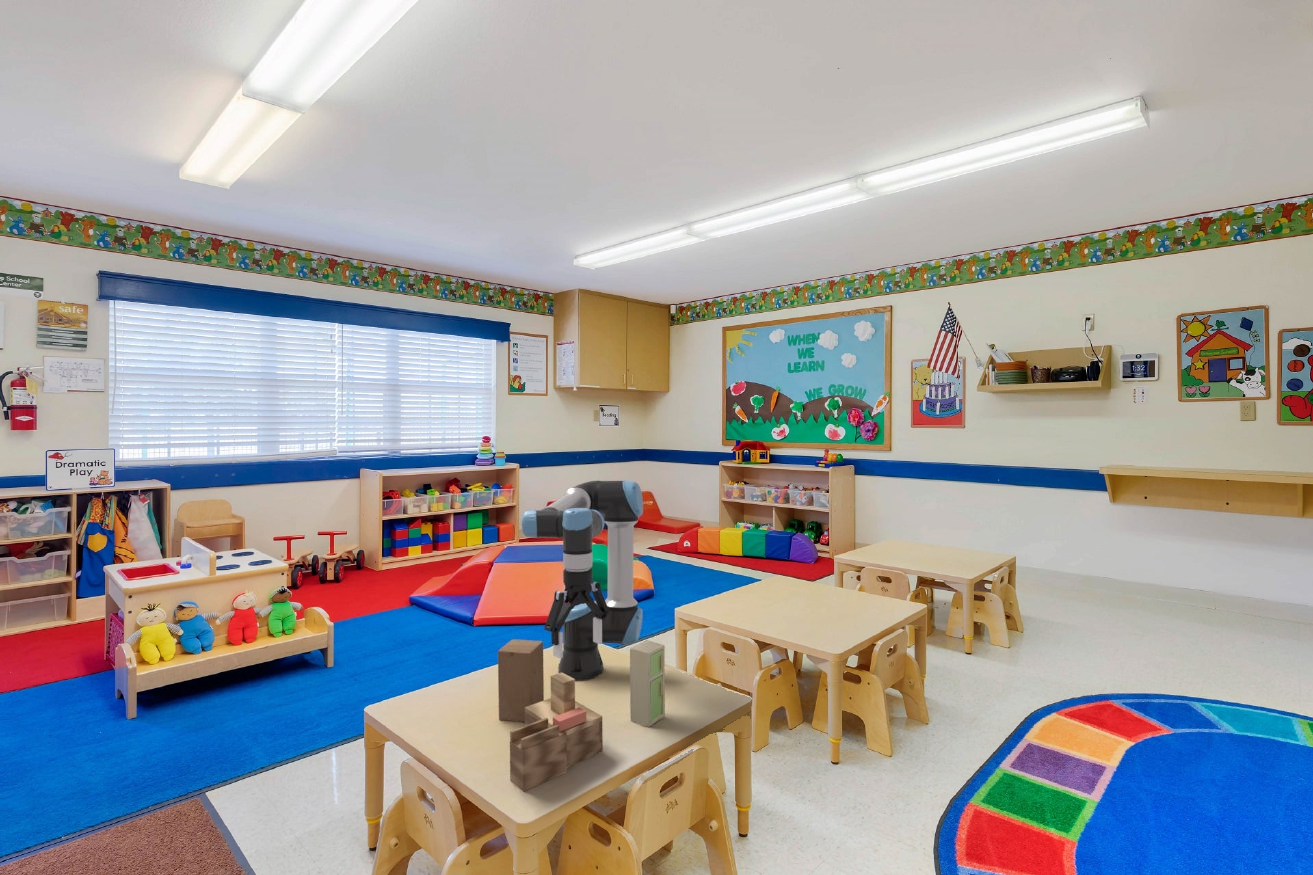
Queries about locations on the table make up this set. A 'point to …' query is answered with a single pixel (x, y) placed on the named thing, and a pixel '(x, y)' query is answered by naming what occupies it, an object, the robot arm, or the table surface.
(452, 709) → the table surface
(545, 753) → the brown wooden open box
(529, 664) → the wooden block
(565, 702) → the lid
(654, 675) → the toy refrigerator
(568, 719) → the pink rectangular block
